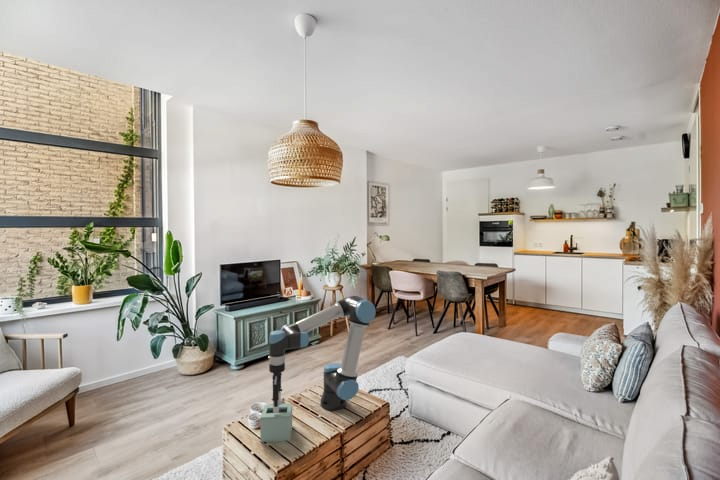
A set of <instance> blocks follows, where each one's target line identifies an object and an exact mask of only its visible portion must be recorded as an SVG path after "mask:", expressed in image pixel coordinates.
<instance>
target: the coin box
mask: <svg viewBox="0 0 720 480" xmlns="http://www.w3.org/2000/svg"><path fill="white" fill-rule="evenodd" d="M272 411H273V403H272V404H267V403H266V404H264V406H263V408H262V412H261V415H260V418H259V419H260V421H259V422H260V423H259V424H260V425H259V426H260V428H259V429H260V438H259V439H260V443H264V442H267V443H268V442H282V441H284V442H285V441H291V437H292V429H293V403H290V402H289V403H285V404H281V405H279V411H285V413H271V412H272Z"/></svg>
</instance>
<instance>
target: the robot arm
mask: <svg viewBox="0 0 720 480" xmlns="http://www.w3.org/2000/svg"><path fill="white" fill-rule="evenodd" d="M376 313H377V312H376V307H375V305H374V303H373V302H372V301H370V300H369V299H366V298H363V297H360V296H358V295H350V296H347V297H345V298H343V299H340V300H338V301H335V303H334V304H332V305H331V306H329V307H326V308H324V309H323V310H320V311H317V312H316V313H313V314H311V315H310V316H309V315H308V316H307V317H305V318H303V319H301V320H299V321H296V322H294V323H292V324H290V323H289V324H284V325H282V326H281V328H280V330H278V329H277V330H273V331H271V332H270V333H269V338H268V345H269V347H268V349H269V355H268V357H267V358H268V359H269V364H268V365H269V366H268V368H269V369H268V370H269V372H270V373H271V374H272V398H271V401H272V404H273V413H279V405H281V398H282V397H281V395H282V393H281V392H283V388H282V373H283V372H285V370H286V363H285V362H286V351H287V350H294V349H301V348H305V347H307V346H309V343H310V340H309V339H310V337H309V334H308V333H309V332H311V331H314V330H315V329H317V328H319V327H322V326H324V325H326V324H328V323H330V322H332V321H334V320H336V319H339V318H342V319H343V318H345V317H348V316H349V317H348V323H349V329H348V334H347V339H346V342H345V345H344V351H343V355H342V359H341V363H339V362H333V363H332V362H331V363H328V364H326V365H325V366H324V367H323V392H322V395H321V398H320V402H319V403H320V407H322V409H325V410H327V411H339V410H341V409H343V408H345V407H346V405H347V401H348V400H351V399H353V398H354V397H356V395H357V394H358V391H359V387H360V386H359V383H358V382H357V379H358V375H359V373H358V372H357V371H356V370H357V367H358V362H359V358H360V353H361V349H362V344H363V340H364V335H365V331H366V328H367V327H369V326H370V322H372V321H373V320H374V319H375V317H376Z"/></svg>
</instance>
